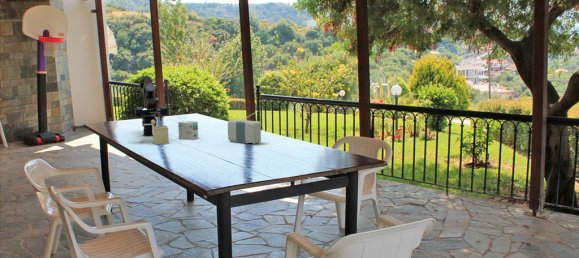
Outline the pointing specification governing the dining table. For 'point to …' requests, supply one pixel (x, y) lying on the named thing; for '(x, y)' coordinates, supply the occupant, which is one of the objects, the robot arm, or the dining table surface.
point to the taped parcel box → (244, 131)
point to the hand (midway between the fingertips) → (152, 121)
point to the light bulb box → (188, 130)
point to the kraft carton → (161, 135)
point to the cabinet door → (153, 126)
